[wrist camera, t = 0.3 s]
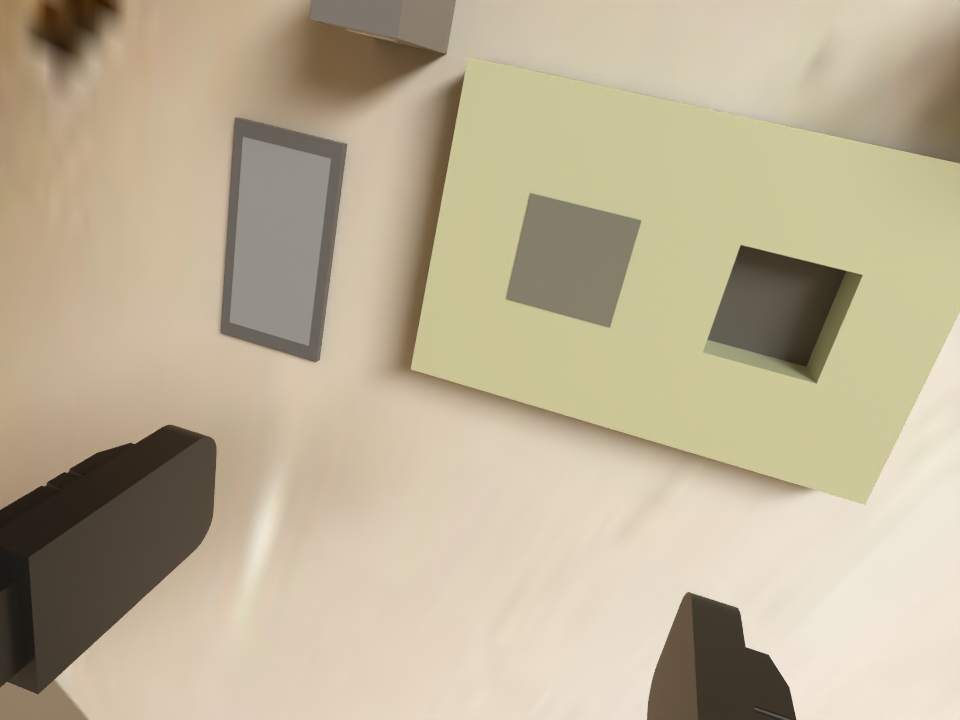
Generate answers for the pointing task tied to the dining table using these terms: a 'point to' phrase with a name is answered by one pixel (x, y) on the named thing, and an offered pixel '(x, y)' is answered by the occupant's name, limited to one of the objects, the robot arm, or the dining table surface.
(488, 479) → the dining table surface
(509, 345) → the outlet plate
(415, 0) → the block
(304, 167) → the phone
